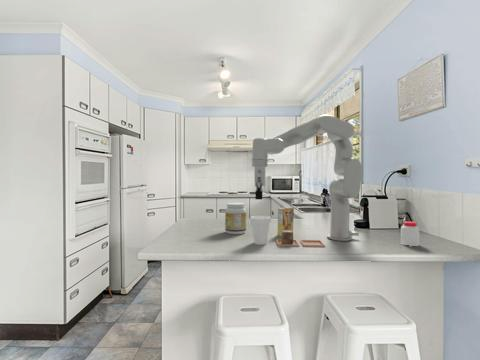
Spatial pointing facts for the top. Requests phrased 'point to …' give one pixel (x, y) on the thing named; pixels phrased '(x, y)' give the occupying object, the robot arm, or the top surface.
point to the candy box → (285, 219)
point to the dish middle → (279, 243)
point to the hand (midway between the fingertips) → (258, 198)
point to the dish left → (312, 243)
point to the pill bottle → (410, 234)
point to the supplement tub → (235, 218)
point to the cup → (260, 229)
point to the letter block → (287, 237)
